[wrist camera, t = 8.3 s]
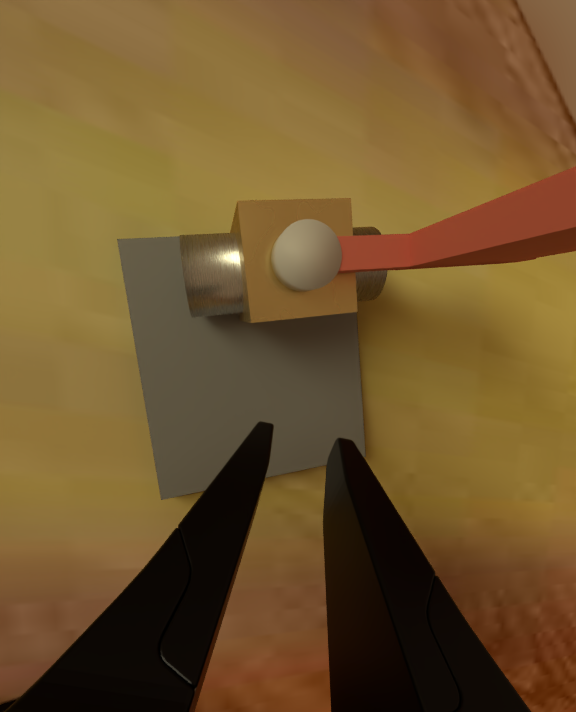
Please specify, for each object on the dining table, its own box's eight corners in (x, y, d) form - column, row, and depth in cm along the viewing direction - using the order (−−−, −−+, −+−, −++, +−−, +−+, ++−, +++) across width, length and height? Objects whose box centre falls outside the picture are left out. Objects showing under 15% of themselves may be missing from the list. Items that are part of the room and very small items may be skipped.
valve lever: (273, 293, 12) (363, 264, 5) (268, 228, 12) (356, 94, 5) (513, 276, 15) (806, 239, 7) (514, 221, 14) (823, 126, 7)
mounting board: (358, 450, 21) (365, 456, 20) (163, 490, 18) (161, 499, 17) (344, 233, 19) (351, 228, 18) (122, 243, 16) (117, 239, 15)
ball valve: (356, 308, 18) (407, 306, 14) (195, 325, 17) (188, 329, 12) (351, 228, 18) (403, 196, 13) (182, 236, 16) (170, 202, 11)
